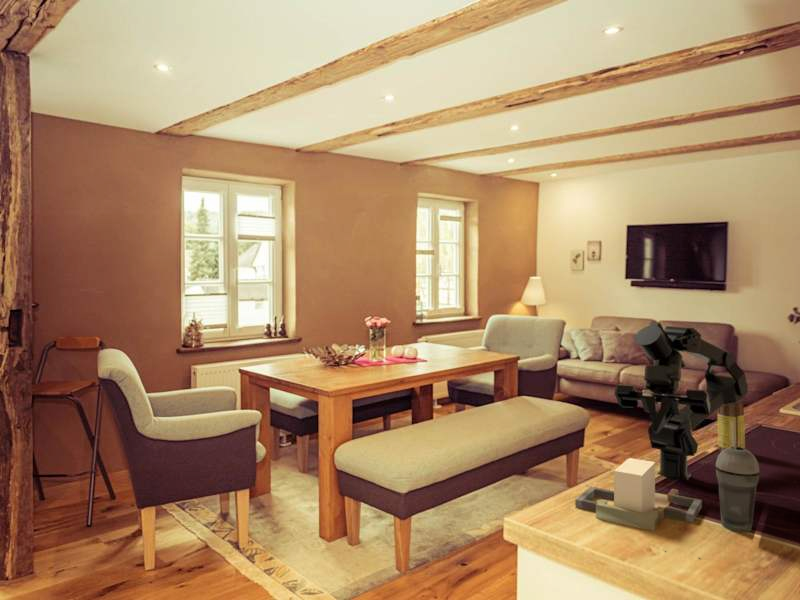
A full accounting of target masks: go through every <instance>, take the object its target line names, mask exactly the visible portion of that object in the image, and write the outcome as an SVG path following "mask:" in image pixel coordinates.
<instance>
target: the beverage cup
mask: <svg viewBox="0 0 800 600" xmlns="http://www.w3.org/2000/svg"><path fill="white" fill-rule="evenodd" d="M731 426H732V440H733V447H729V448H726V449H725V450H723V451H722V452H721V451H720V453H719V454H718V455H717V458H716V462H715V465H714V469H715V474H716V479H717V484H718V485H717V486H718V496H719V497H718V498H719V509H720V520H721V522H720V523H721V526H722V527H724V529H726V530H729V531H732V532H737V533H748V532H751V531H752V527H753V520H754V514H755V503H756V502H755V501H756V494H757V493H756V492H757V485H758V483H759V480H760V475H761V470H760V465H759V462H758V460H757V458H756V456H755V455H754V454H753V453H752V452H751V451H750V450H748V449H746V448H741V447H736V437H735V424H734V422H731Z"/></svg>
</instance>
